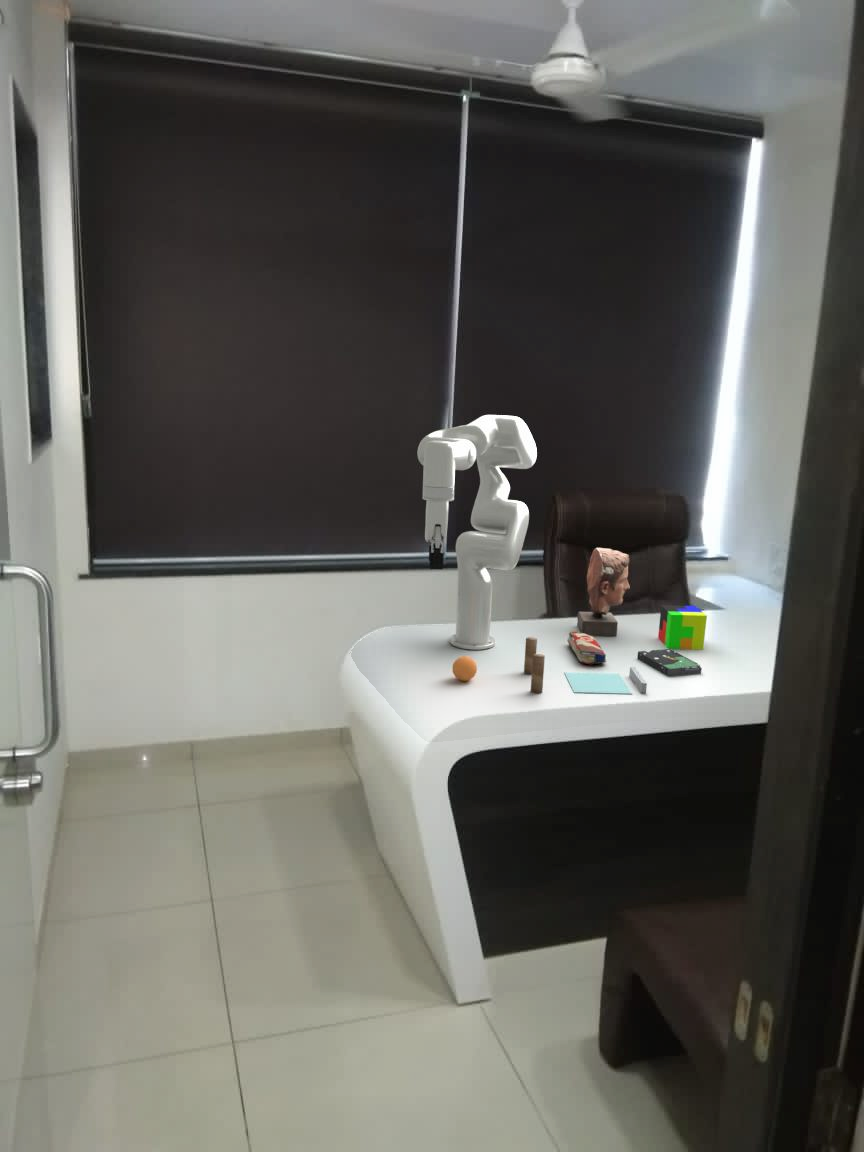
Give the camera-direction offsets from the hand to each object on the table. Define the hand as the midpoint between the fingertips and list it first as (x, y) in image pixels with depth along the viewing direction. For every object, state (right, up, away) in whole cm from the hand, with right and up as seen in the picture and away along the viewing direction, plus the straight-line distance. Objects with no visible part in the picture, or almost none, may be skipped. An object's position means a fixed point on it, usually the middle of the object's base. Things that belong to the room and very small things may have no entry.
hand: (435, 564), depth 218 cm
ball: (+7, -25, +2) cm, 27 cm away
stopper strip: (+50, -30, +4) cm, 58 cm away
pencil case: (+41, -25, +25) cm, 54 cm away
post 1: (+24, -27, +10) cm, 38 cm away
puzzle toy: (+70, -22, +39) cm, 83 cm away
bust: (+49, -19, +48) cm, 71 cm away
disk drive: (+62, -27, +19) cm, 70 cm away
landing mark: (+40, -29, +4) cm, 50 cm away
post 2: (+24, -30, -3) cm, 39 cm away
